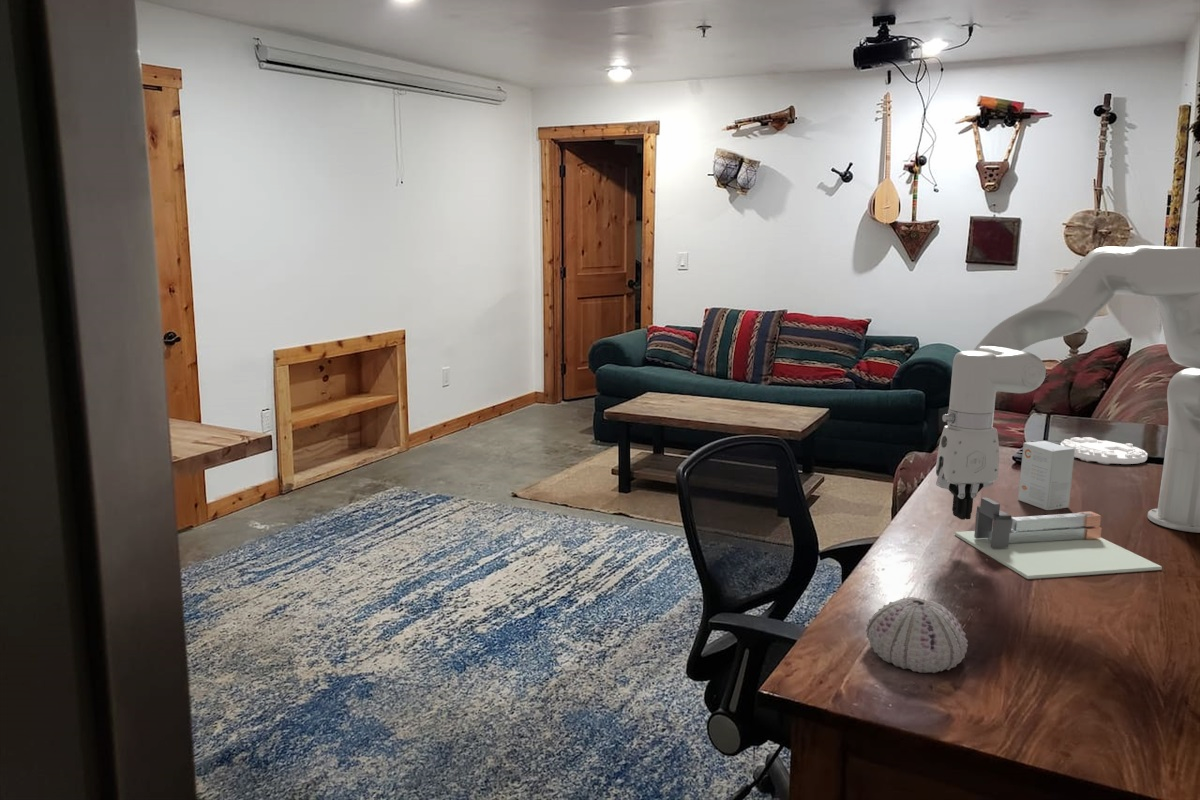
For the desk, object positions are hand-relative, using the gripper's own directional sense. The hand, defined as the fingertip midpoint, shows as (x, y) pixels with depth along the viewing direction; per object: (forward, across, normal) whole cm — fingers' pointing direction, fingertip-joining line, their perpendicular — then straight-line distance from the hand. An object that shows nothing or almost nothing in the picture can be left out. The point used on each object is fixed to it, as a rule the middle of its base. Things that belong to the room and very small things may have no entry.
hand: (961, 517), depth 163 cm
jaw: (+3, +20, 0) cm, 20 cm away
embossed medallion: (+7, +76, +57) cm, 96 cm away
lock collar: (+6, +6, 0) cm, 9 cm away
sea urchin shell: (+7, -30, -37) cm, 48 cm away
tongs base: (+6, +17, 0) cm, 19 cm away
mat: (+6, +16, -4) cm, 18 cm away
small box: (+6, +34, +22) cm, 41 cm away
